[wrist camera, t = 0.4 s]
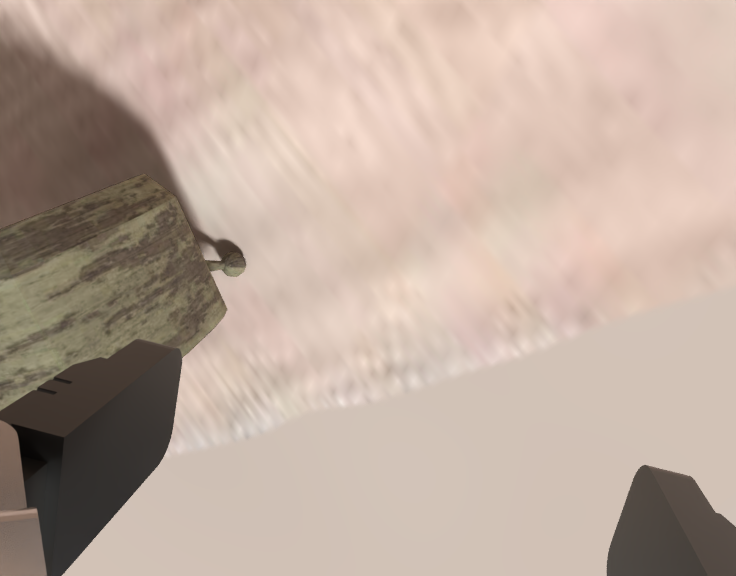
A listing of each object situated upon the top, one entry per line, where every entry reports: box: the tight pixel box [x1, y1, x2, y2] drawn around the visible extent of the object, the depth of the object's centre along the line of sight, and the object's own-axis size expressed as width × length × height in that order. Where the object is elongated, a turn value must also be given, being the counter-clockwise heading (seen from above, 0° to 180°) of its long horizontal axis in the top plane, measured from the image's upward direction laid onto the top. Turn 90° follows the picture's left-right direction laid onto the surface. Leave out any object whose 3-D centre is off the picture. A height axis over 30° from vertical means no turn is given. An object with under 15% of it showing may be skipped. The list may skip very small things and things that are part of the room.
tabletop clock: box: [0, 174, 246, 411], centre depth 35 cm, size 14×9×25 cm, turn 111°
